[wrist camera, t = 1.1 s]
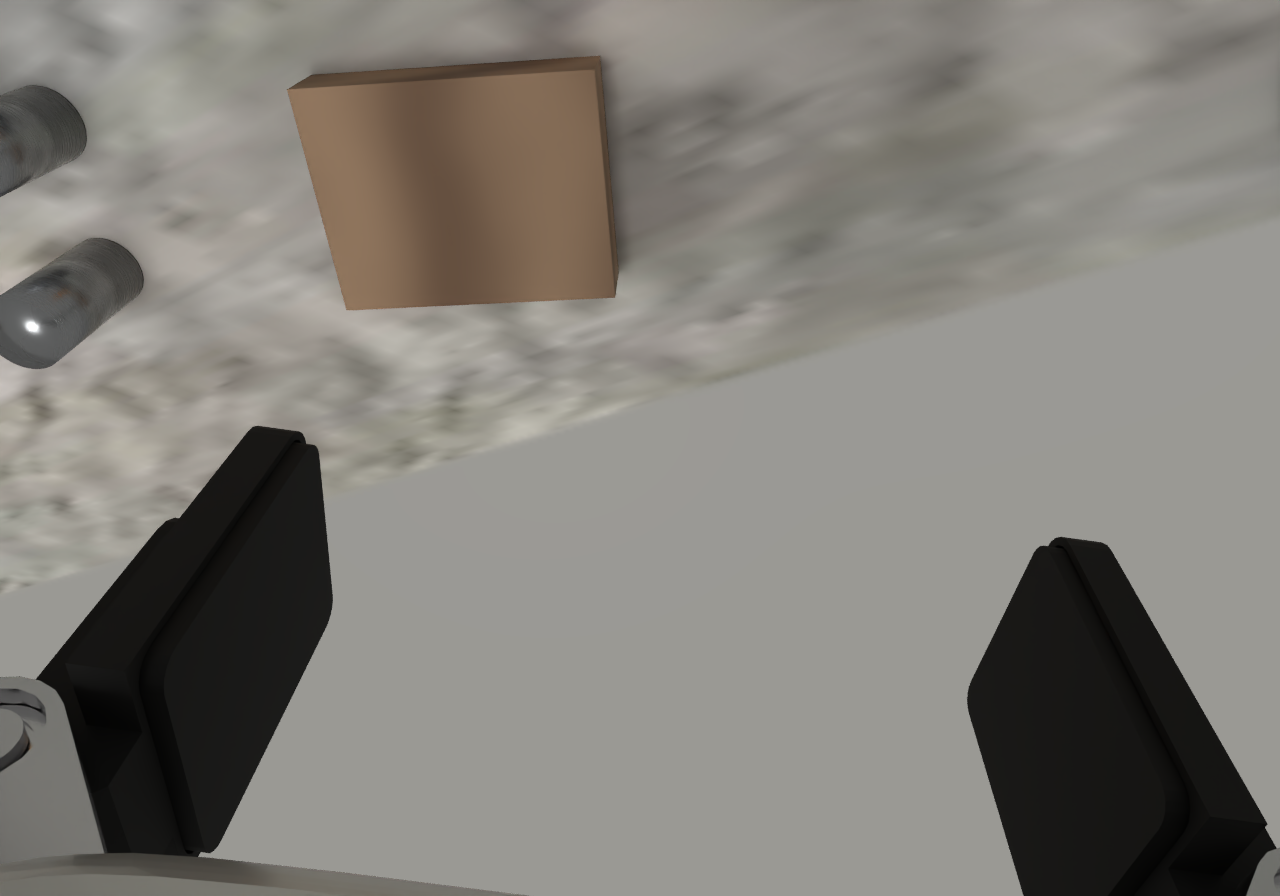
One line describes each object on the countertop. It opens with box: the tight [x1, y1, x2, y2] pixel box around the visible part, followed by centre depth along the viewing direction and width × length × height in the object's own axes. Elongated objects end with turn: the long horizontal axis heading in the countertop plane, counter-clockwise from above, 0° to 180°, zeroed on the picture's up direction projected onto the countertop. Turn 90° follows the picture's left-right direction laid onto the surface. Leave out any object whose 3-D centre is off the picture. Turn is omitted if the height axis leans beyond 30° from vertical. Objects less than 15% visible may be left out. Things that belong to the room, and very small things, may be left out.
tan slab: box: [287, 56, 619, 310], centre depth 29 cm, size 9×7×2 cm
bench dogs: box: [0, 86, 143, 369], centre depth 28 cm, size 2×7×5 cm, turn 4°
